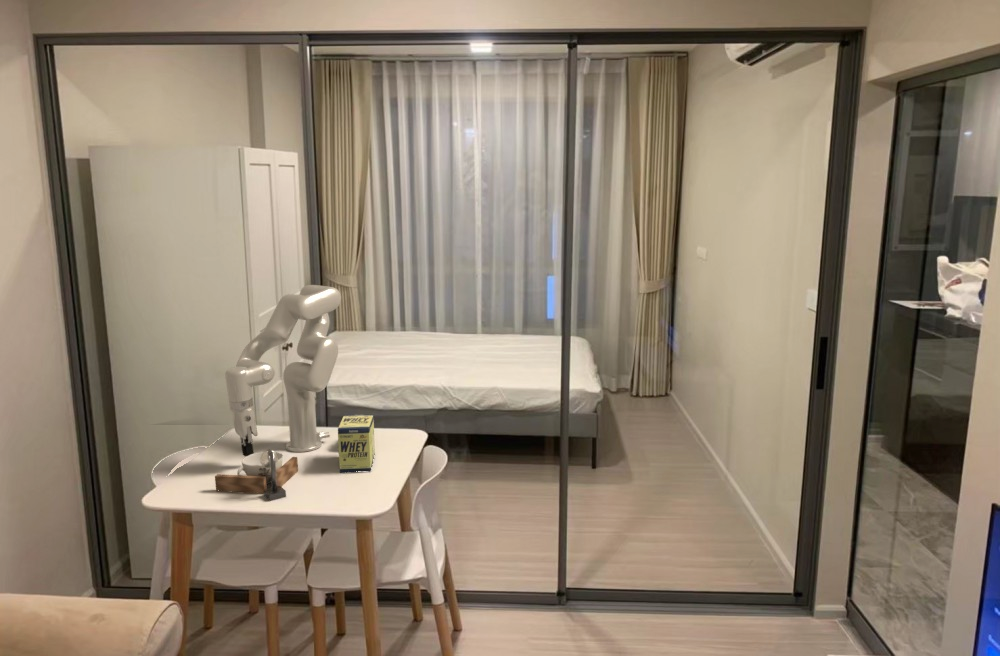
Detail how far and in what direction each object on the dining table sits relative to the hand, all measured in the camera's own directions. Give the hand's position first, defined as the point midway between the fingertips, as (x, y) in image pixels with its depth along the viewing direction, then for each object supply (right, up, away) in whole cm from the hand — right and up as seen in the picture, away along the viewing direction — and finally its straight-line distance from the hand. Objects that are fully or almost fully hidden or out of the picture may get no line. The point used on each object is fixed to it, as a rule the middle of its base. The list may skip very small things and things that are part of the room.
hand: (248, 454), depth 242 cm
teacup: (+8, -7, -12) cm, 16 cm away
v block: (+10, -7, -15) cm, 20 cm away
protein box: (+37, -4, +3) cm, 37 cm away
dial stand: (+16, -9, -23) cm, 29 cm away
